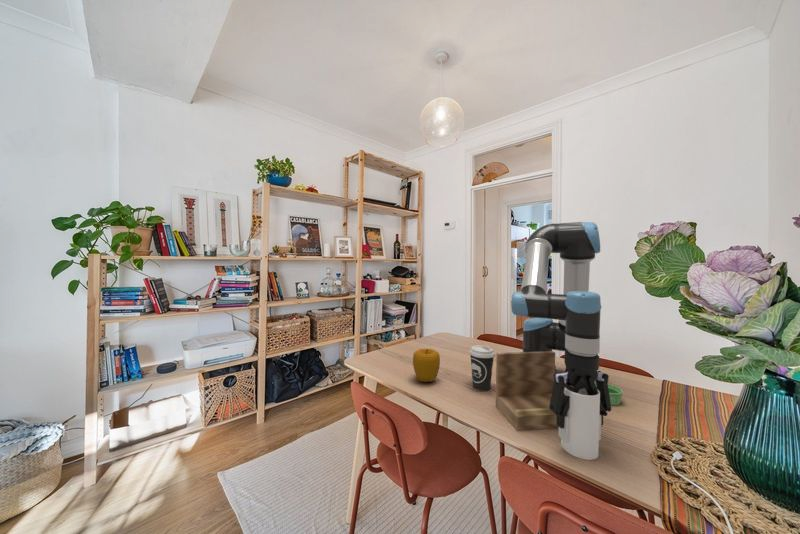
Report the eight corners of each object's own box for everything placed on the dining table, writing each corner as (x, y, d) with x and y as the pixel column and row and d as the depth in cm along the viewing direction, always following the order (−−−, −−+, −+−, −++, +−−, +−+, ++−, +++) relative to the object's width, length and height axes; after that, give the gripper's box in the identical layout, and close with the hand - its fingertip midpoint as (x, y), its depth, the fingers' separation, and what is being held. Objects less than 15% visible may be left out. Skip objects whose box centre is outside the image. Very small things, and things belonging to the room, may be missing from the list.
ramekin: (615, 409, 94) (615, 396, 94) (585, 397, 101) (586, 385, 101) (626, 402, 99) (627, 389, 98) (597, 391, 106) (598, 380, 106)
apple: (420, 388, 108) (420, 354, 107) (408, 377, 118) (408, 346, 117) (445, 383, 112) (445, 351, 112) (431, 373, 122) (431, 343, 122)
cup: (564, 455, 71) (565, 392, 71) (558, 436, 79) (559, 379, 79) (602, 463, 68) (604, 398, 68) (593, 443, 76) (594, 384, 76)
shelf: (551, 403, 97) (552, 351, 97) (580, 426, 84) (582, 365, 83) (495, 406, 95) (496, 352, 94) (516, 430, 82) (518, 368, 81)
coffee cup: (496, 394, 104) (496, 353, 103) (469, 391, 105) (469, 351, 105) (492, 382, 113) (493, 345, 113) (468, 380, 115) (468, 344, 114)
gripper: (606, 346, 78) (604, 427, 79) (534, 348, 76) (532, 432, 76) (631, 355, 71) (629, 444, 71) (553, 358, 68) (550, 450, 69)
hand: (579, 438), depth 74 cm, fingers open, 8 cm apart
